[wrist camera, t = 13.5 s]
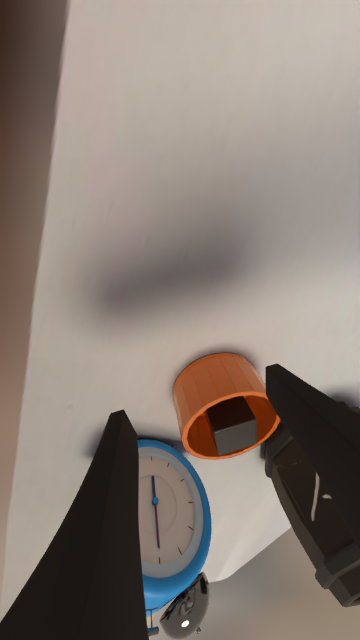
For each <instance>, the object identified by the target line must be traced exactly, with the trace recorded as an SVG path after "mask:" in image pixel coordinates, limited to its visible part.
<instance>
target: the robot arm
mask: <svg viewBox="0 0 360 640" xmlns="http://www.w3.org/2000/svg"><path fill="white" fill-rule="evenodd" d="M266 396H267V398H268V400H269V401H270V403H271V405H272V407H273V409H274V411H275V412H276V414H277V415H278V417H279V418H280V420H281V421H282V423H283V424H284V426H285V427H286V428H287V430H288V431H289V433H290V434H291V436H292V437H293V438H294V440H295V441H296V443H297V444H298V446H299V447H300V448H301V450H302V451H303V453H304V454H305V456H306V457H307V458H308V460H309V462H310V463H311V465H312V466H313V468H314V469H315V471H316V473H317V475H318V476H319V478H320V480H321V481H322V483H323V485H324V486H325V488H326V490H327V492H328V493H329V495H330V497H331V499H332V501H333V502H334V504H335V506H336V508H337V509H338V511H339V513H340V515H341V517H342V518H343V520H344V522H345V524H346V526H347V528H348V530H349V531H350V533H351V535H352V537H353V539H354V541H355V543H356V544H357V546H358V548H359V550H360V414H359V413H357V412H355V411H353V410H351V409H349V408H348V407H346V406H344V405H342V404H340V403H339V402H337V401H335V400H333V399H332V398H330V397H328V396H327V395H325V394H324V393H322V392H320V391H319V390H317V389H315V388H314V387H312V386H311V385H309V384H308V383H306V382H304V381H303V380H301V379H300V378H298V377H297V376H295V375H294V374H292V373H291V372H289V371H288V370H286V369H285V368H284V367H282V366H281V365H279V364H274V365H271V366H267V367H266ZM138 503H139V453H138V442H137V434H136V432H135V430H134V428H133V426H132V424H131V422H130V420H129V419H128V417H127V415H126V413H125V411H124V410H120V411H117V412H114V413H111V414H110V416H109V419H108V422H107V424H106V427H105V430H104V433H103V435H102V438H101V441H100V443H99V446H98V448H97V451H96V453H95V455H94V458H93V460H92V463H91V465H90V467H89V470H88V472H87V474H86V476H85V478H84V480H83V483H82V485H81V487H80V489H79V491H78V493H77V495H76V497H75V499H74V501H73V503H72V505H71V507H70V509H69V511H68V513H67V515H66V517H65V518H64V520H63V522H62V524H61V526H60V528H59V529H58V531H57V533H56V535H55V536H54V538H53V540H52V542H51V543H50V545H49V547H48V549H47V550H46V552H45V554H44V555H43V557H42V559H41V560H40V562H39V564H38V565H37V567H36V568H35V570H34V572H33V573H32V575H31V576H30V578H29V579H28V581H27V583H26V584H25V586H24V587H23V589H22V590H21V592H20V594H19V595H18V597H17V598H16V600H15V601H14V603H13V604H12V606H11V607H10V609H9V610H8V612H7V613H6V615H5V616H4V618H3V619H2V621H1V622H0V640H149V636H148V628H147V618H146V608H145V598H144V587H143V576H142V564H141V551H140V537H139V517H138Z"/></svg>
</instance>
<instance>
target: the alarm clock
mask: <svg viewBox="0 0 360 640" xmlns="http://www.w3.org/2000/svg"><path fill="white" fill-rule="evenodd" d="M137 442H138V453H139V503H138V517H139V537H140V551H141V564H142V576H143V587H144V598H145V608H146V617H148V616H150V615H151V628H148V636H152V635H156V634H158V632H159V628H158V627H153V628H152V614H154V613H155V612H157V611H158V610H160V609H161V608H162V607H163V606H165V605H166V604H167V603H169V602H170V601H171V600H172V599H174V598H175V597H176V596H177V597H176V598H175V599H174V601H173V602H172V603H171V604H170V606H169V607H168V608H167V609H166V611H165V612H164V614H163V615H162V617H161V618H160V624H161V627H162V629H163V631H164V632H165V634H166V635H167V636H168V637H170V638H171V639H174V640H183V639H186V638H188V637H190V636H191V635H192V634H193V633H194V632H195V631H197V633H198V634H199V633H200V631H201V630H200V625H201V623H202V622H203V620H204V618H205V615H206V613H207V610H208V605H209V598H210V592H209V591H210V590H209V584H208V580H207V577H206V575H205V573H204V572H201V573H200V571H201V569H202V567H203V565H204V563H205V560H206V557H207V554H208V551H209V546H210V540H211V513H210V506H209V502H208V498H207V494H206V491H205V489H204V486H203V484H202V481H201V479H200V477H199V476H198V474H197V472H196V471H195V469H194V468H193V466H192V465H191V464H190V462H189V461H188V460H187V459H186V458H185V457H184V456H183V455H182V454H181V453H180V452H179V451H177V450H176V449H174V444H172V445H171V446H169V445H167V444H165V443H163V442H160V441H156V440H149V439H142V440H137ZM199 573H200V574H199Z"/></svg>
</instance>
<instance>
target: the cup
mask: <svg viewBox="0 0 360 640" xmlns="http://www.w3.org/2000/svg"><path fill="white" fill-rule="evenodd" d="M237 396H244V398H245V400H246V401H247V403H248V405H249V407H250V409H251V410H252V412H253V414H254V416H255V418H256V421H257V444H254V445H251V446H248V447H245V448H242V449H239V450H236V451H232V452H229V453H226V454H223V455H220V456H219V455H218V453H217V450H216V447H215V444H214V441H213V438H212V435H211V432H210V429H209V426H208V423H207V420H206V417H205V414H204V411H205V410H206V409H208V408H210V407H211V406H213V405H215V404H217V403H219V402H221V401H223V400H227V399H230V398H233V397H237ZM173 401H174V405H175V410H176V415H177V420H178V425H179V430H180V434H181V439H182V442H183V445H184V448H185V449H186V450H187V451H188V452H189V453H190V454H191V455H193V456H195V457H198V458H201V459H210V460H218V459H225V458H231V457H234V456H237V455H240V454H243V453H245V452H247V451H249V450H251V449H253V448H255V447H257V446H258V445H259V444H261V443H262V442H264V441H265V440H266V439H267V438H268V437H269V436H270V435H271V434H272V433H273V432H274V431H275V430H276V428H277V426H278V424H279V422H280V418H279V417H278V415H277V414H276V412H275V411H274V409H273V407H272V405H271V403H270V401H269V400H268V398H267V396H266V383H265V382H264V381H263V379H262V378H261V376H260V375H259V374H258V372H257V371H256V369H255V368H254V366H253V365H252V364H251V363H250V362H249V361H248V360H247V359H245V358H244V357H242V356H240V355H237V354H232V353H217V354H212V355H208V356H205V357H203V358H201V359H198V360H197V361H195V362H193V363H192V364H190V365H189V366H188V367H187V368H185V369H184V370H183V371H182V373H181V374H180V375H179V376H178V378H177V380H176V382H175V384H174V387H173Z"/></svg>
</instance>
